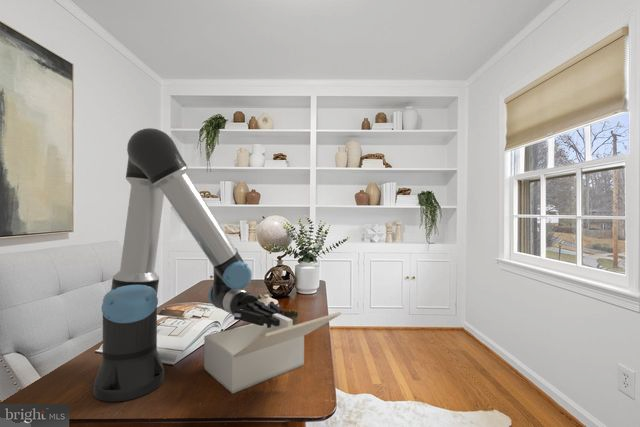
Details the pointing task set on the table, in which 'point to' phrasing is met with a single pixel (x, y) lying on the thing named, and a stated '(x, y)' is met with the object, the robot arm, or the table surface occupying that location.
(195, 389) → the table surface
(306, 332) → the lid flap
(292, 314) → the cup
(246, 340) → the mailer box
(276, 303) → the teacup with lid
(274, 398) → the table surface
